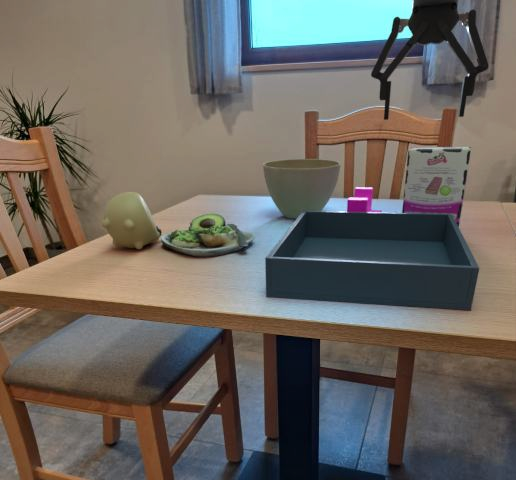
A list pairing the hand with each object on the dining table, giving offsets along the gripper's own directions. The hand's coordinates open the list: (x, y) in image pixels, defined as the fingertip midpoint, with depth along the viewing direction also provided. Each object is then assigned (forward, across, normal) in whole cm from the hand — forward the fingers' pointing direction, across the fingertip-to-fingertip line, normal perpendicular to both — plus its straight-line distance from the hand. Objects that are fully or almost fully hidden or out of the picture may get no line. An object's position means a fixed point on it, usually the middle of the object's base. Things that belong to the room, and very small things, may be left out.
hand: (422, 118), depth 89 cm
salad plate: (+21, -39, -18) cm, 48 cm away
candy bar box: (+22, +4, -3) cm, 22 cm away
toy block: (+21, -10, -1) cm, 23 cm away
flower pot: (+21, -26, +10) cm, 35 cm away
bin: (+21, -7, -27) cm, 35 cm away
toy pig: (+21, -53, -23) cm, 61 cm away
